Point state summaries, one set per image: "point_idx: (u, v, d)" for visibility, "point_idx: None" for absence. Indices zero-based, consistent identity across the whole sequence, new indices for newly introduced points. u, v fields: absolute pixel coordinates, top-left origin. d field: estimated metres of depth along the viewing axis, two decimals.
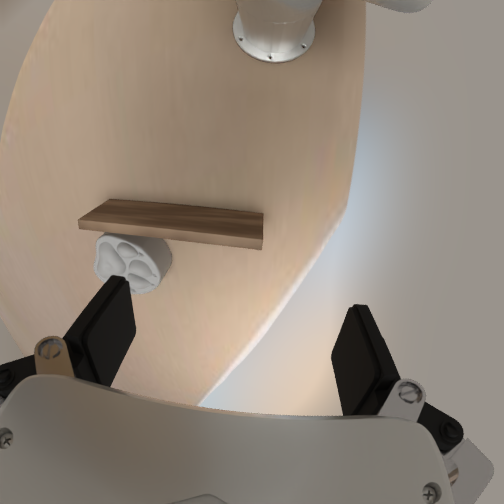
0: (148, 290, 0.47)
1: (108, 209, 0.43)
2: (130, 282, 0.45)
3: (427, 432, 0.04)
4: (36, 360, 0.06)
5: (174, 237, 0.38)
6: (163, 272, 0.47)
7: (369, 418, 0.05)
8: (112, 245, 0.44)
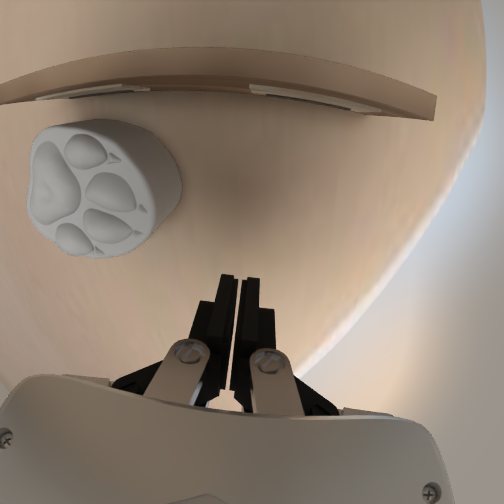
0: (127, 247, 0.20)
1: None
2: (87, 227, 0.18)
3: (427, 432, 0.04)
4: (179, 366, 0.07)
5: (206, 68, 0.11)
6: (163, 206, 0.21)
7: (369, 418, 0.05)
8: (58, 147, 0.17)
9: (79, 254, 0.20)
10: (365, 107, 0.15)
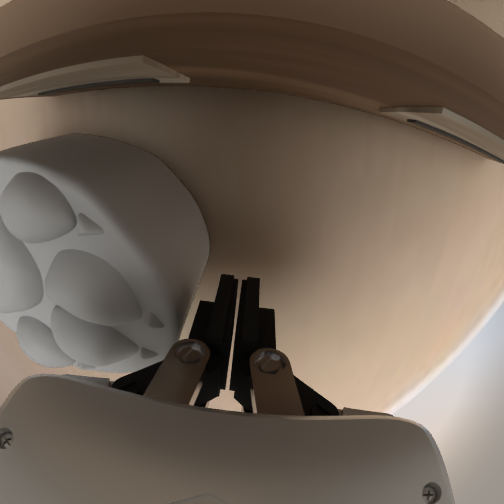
0: (132, 367, 0.11)
1: None
2: (59, 342, 0.09)
3: (427, 432, 0.04)
4: (179, 367, 0.07)
5: (451, 53, 0.03)
6: (188, 301, 0.12)
7: (369, 418, 0.05)
8: None
9: (57, 367, 0.11)
10: None
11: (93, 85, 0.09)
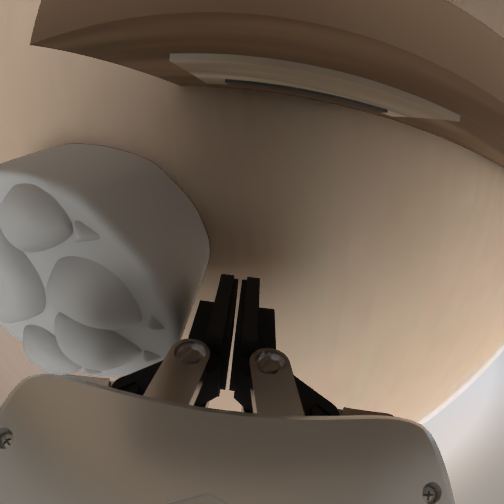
0: (137, 370, 0.12)
1: None
2: (63, 348, 0.10)
3: (427, 432, 0.04)
4: (179, 367, 0.07)
5: None
6: (188, 302, 0.12)
7: (369, 418, 0.05)
8: None
9: (63, 373, 0.11)
10: None
11: (317, 94, 0.09)
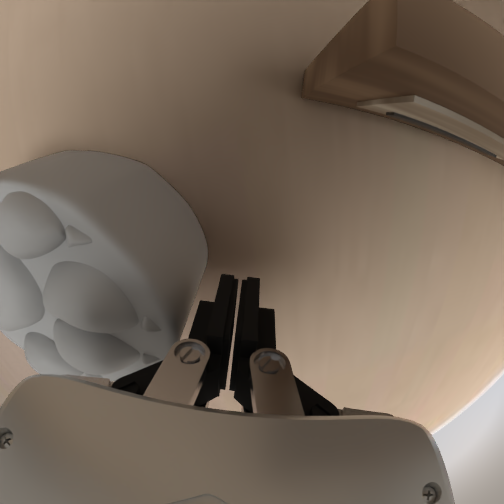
0: None
1: None
2: (62, 354, 0.10)
3: (427, 432, 0.04)
4: (179, 366, 0.07)
5: None
6: (185, 303, 0.12)
7: (369, 418, 0.05)
8: None
9: None
10: None
11: (456, 138, 0.09)
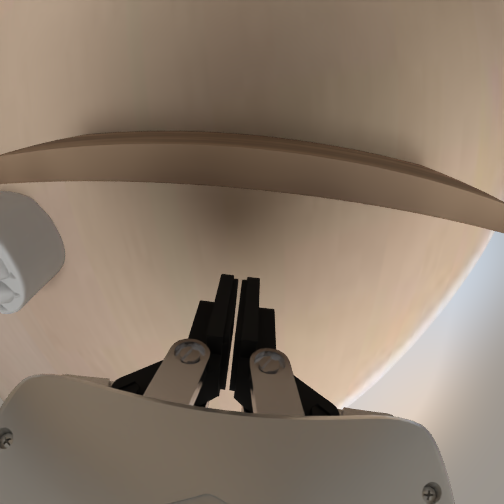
0: (17, 306, 0.19)
1: (75, 139, 0.15)
2: None
3: (427, 432, 0.04)
4: (179, 367, 0.07)
5: (298, 184, 0.10)
6: (32, 269, 0.19)
7: (369, 418, 0.05)
8: None
9: None
10: None
11: None
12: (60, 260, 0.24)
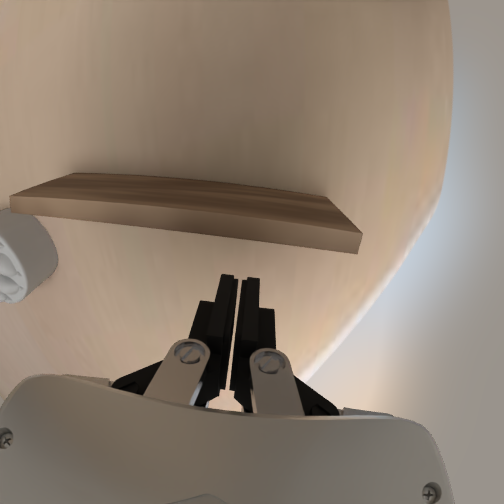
0: (20, 296, 0.26)
1: (65, 182, 0.22)
2: None
3: (427, 432, 0.04)
4: (179, 367, 0.07)
5: (178, 225, 0.18)
6: (33, 269, 0.26)
7: (369, 418, 0.05)
8: None
9: (0, 301, 0.25)
10: None
11: None
12: (54, 264, 0.31)
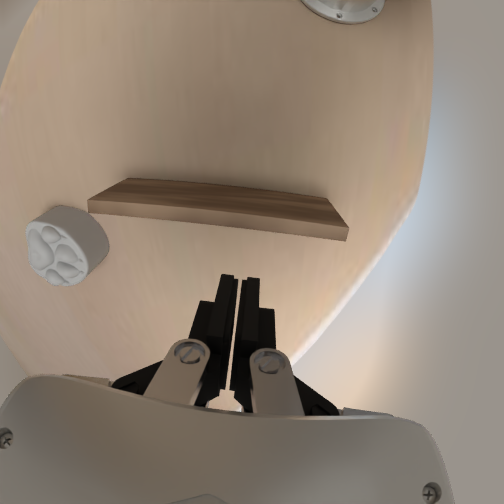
0: (79, 279, 0.37)
1: (128, 188, 0.32)
2: (58, 271, 0.35)
3: (427, 432, 0.04)
4: (179, 366, 0.07)
5: (229, 223, 0.28)
6: (92, 256, 0.37)
7: (369, 418, 0.05)
8: (38, 232, 0.34)
9: (58, 284, 0.36)
10: None
11: None
12: (106, 252, 0.42)
